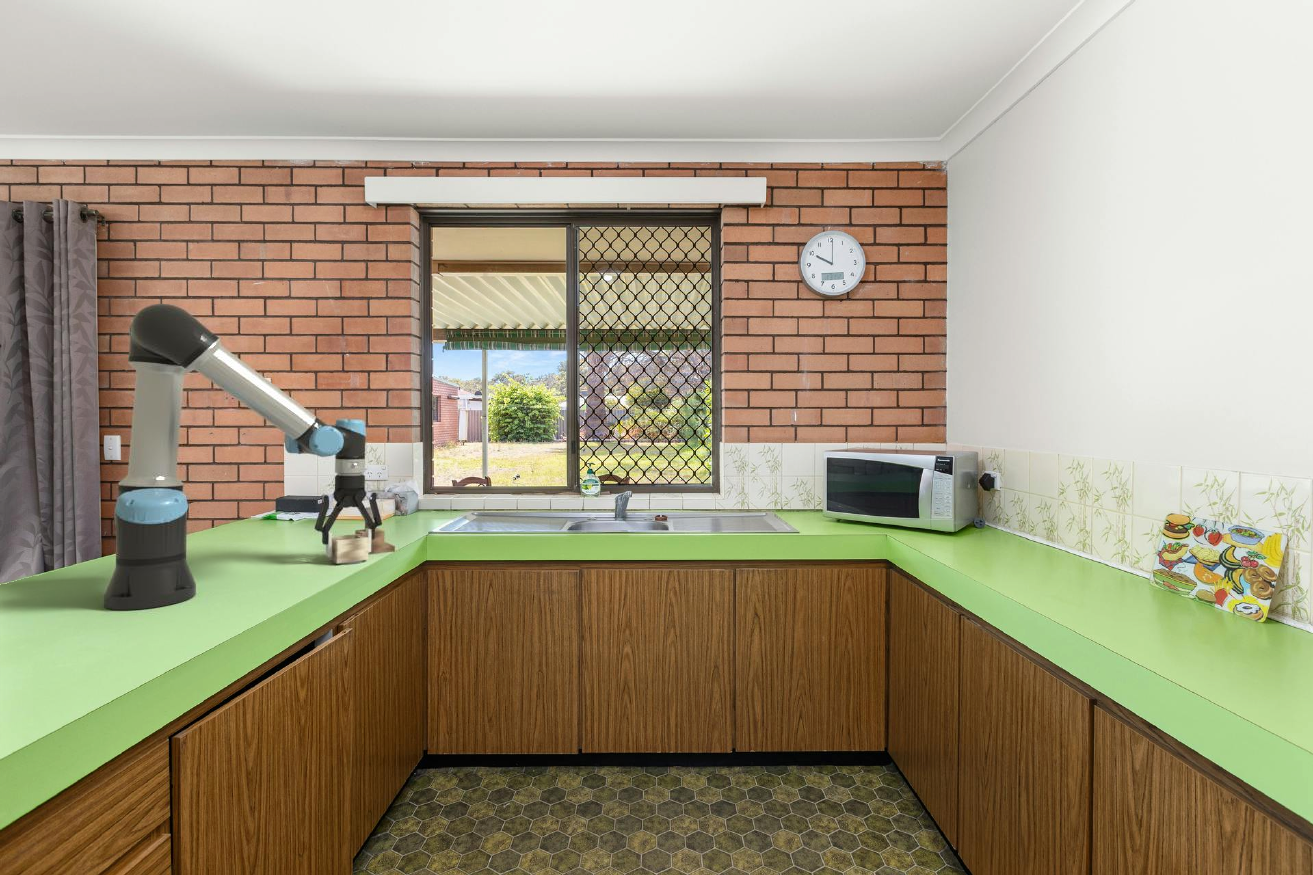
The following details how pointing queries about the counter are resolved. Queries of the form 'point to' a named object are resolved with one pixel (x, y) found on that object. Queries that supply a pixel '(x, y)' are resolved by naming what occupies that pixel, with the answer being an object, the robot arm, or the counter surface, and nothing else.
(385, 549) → the post stand
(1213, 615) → the counter surface
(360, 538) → the birch collar
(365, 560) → the rubber coaster
